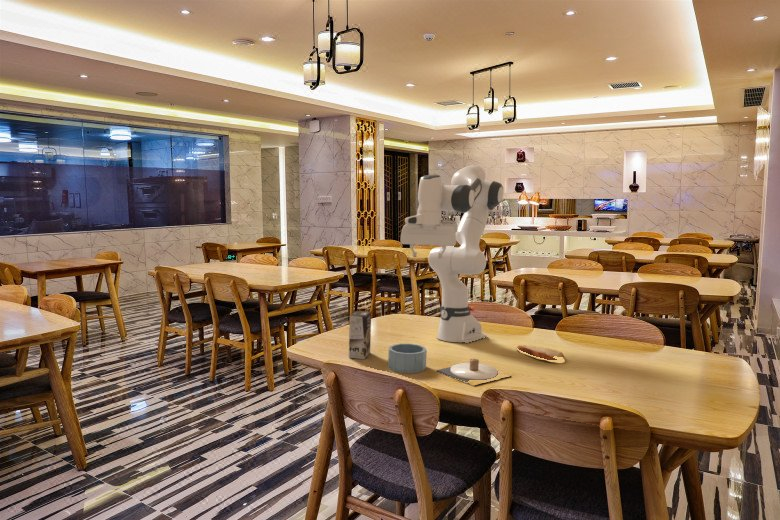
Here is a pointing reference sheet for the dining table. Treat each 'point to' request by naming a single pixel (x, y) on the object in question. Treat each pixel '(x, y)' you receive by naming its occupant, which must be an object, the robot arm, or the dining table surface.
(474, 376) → the lid
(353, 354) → the coffee box
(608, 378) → the dining table surface
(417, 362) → the bowl
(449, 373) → the mat
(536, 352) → the bread slice
